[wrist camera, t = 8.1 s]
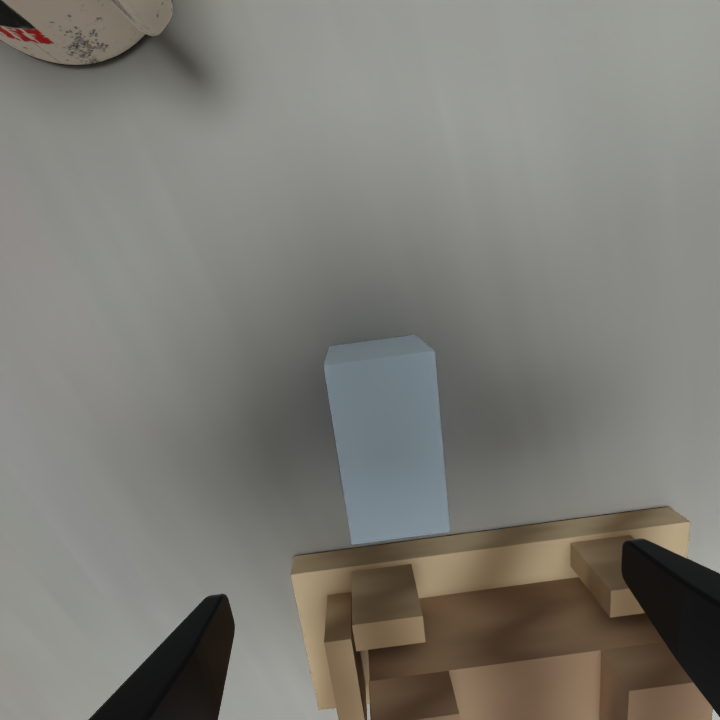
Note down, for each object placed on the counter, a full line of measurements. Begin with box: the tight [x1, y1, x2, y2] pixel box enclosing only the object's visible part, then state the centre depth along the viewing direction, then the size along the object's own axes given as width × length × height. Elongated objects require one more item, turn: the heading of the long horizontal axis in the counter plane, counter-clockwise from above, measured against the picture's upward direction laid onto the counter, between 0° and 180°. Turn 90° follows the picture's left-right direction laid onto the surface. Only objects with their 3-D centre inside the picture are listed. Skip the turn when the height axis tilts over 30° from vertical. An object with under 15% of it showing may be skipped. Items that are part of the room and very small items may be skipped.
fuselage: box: [368, 577, 713, 720], centre depth 16 cm, size 13×4×5 cm, turn 98°
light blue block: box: [324, 335, 450, 545], centre depth 15 cm, size 4×8×4 cm, turn 7°
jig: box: [291, 507, 690, 720], centre depth 18 cm, size 20×9×4 cm, turn 97°
